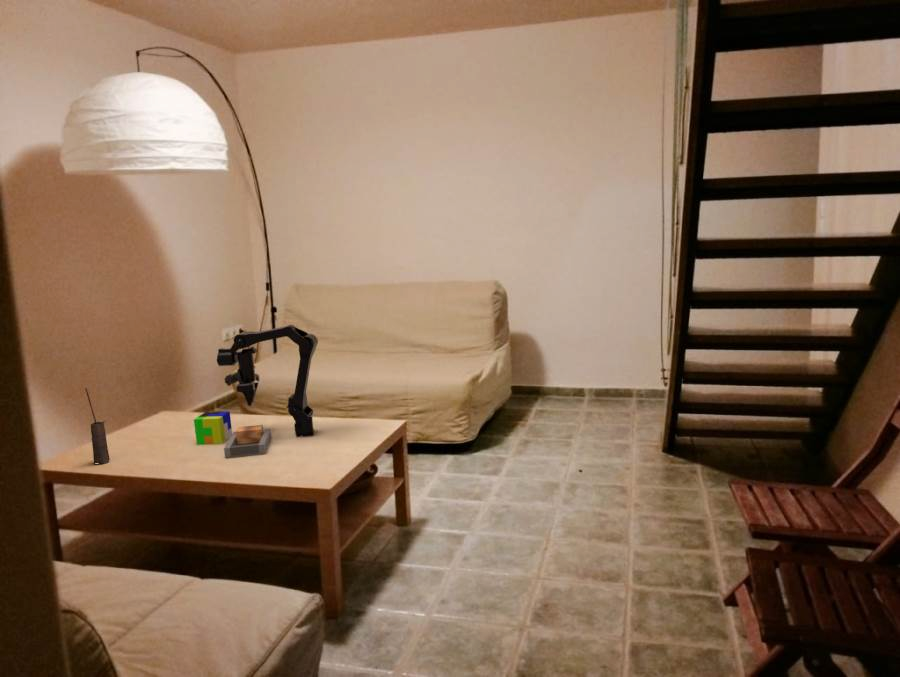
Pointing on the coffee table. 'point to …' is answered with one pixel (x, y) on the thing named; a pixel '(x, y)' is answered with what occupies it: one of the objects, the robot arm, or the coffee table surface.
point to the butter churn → (98, 439)
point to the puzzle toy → (213, 427)
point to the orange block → (249, 434)
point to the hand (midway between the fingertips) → (250, 404)
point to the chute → (247, 446)
